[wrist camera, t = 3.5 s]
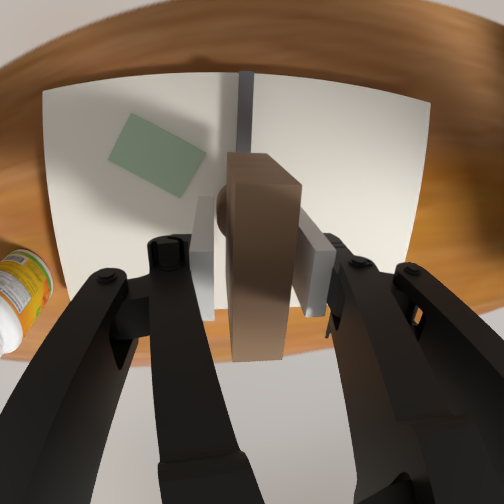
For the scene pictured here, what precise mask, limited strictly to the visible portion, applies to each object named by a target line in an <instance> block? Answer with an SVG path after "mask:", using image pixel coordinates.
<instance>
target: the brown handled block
mask: <svg viewBox="0 0 504 504" xmlns="http://www.w3.org/2000/svg"><path fill="white" fill-rule="evenodd" d="M253 93H254V71H239V85H238V110H237V137H236V152H227V182H226V185H225V186H224V187H223V188H222V189H221V190H220V192H219V194H218V196H217V200H216V218H217V225H218V228H219V230H220V232H221V233H222V234H223V235H224V236H225V237H226V258H225V277H226V290H227V303H228V316H229V328H230V340H231V352H232V362H249V361H268V360H282V357H283V350H284V343H285V336H286V329H287V321H288V314H289V306H290V298H291V290H292V281H293V273H294V264H295V255H296V246H297V236H298V227H299V216H300V206H301V195H302V184H301V183H300V182H298V181H297V180H296V179H295V178H294V177H293V176H292V175H291V174H290V173H289V172H287V171H286V170H285V169H284V168H283V167H282V166H281V165H280V164H278V163H277V162H276V161H275V160H274V159H273V158H272V157H271V156H269V155H268V154H267V153H251V138H252V115H253Z"/></svg>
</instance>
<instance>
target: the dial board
mask: <svg viewBox="0 0 504 504" xmlns="http://www.w3.org/2000/svg"><path fill="white" fill-rule="evenodd" d="M238 85H239V73H227V72H196V73H168V74H153V75H141V76H130V77H121V78H113V79H106V80H99V81H92V82H86V83H80V84H74V85H69V86H64V87H59V88H54V89H50V90H45V91H43V138H44V154H45V166H46V176H47V185H48V193H49V200H50V207H51V214H52V220H53V226H54V231H55V237H56V242H57V247H58V252H59V256H60V261H61V265H62V270H63V274H64V278H65V282H66V286H67V289H68V293H69V297H70V301H71V300H72V299H73V298H74V296H75V295H76V294H77V292H78V291H79V289H80V288H81V287H82V285H83V284H84V283H85V281H86V280H87V279H88V277H89V276H90V275H91V274H93V273H94V272H96V271H98V270H100V269H104V268H119V269H121V270H123V271H125V273H126V274H127V279H132V278H137V277H141V276H144V275H147V274H149V261H148V251H147V243H148V242H149V241H150V240H151V239H153V238H156V237H159V236H165V235H172V234H192V231H193V225H194V219H195V214H196V208H197V203H198V197H199V196H214V309H228V303H227V290H226V277H225V258H226V237H225V236H224V235H223V234H222V233H221V232H220V230H219V228H218V225H217V218H216V200H217V196H218V194H219V192H220V190H221V189H222V188H223V187H224V186H225V185H226V182H227V152H236V137H237V110H238ZM430 106H431V103H429V102H425V101H422V100H418V99H414V98H411V97H407V96H403V95H399V94H395V93H390V92H386V91H381V90H377V89H372V88H367V87H362V86H356V85H351V84H345V83H339V82H333V81H326V80H319V79H311V78H302V77H293V76H283V75H270V74H254V93H253V115H252V138H251V153H267V154H268V155H269V156H271V157H272V158H273V159H274V160H275V161H276V162H277V163H278V164H280V165H281V166H282V167H283V168H284V169H285V170H286V171H287V172H289V173H290V174H291V175H292V176H293V177H294V178H295V179H296V180H297V181H298V182H300V183H301V184H302V195H301V207H302V208H303V210H304V211H305V212H306V213H307V214H308V216H309V217H310V218H311V219H312V221H313V222H314V223H315V224H316V225H317V227H318V228H319V229H320V230H321V232H322V233H331V234H333V235H335V236H337V237H339V238H340V240H341V241H342V242H343V244H345V245H346V246H347V248H348V249H349V250H350V251H351V252H352V253H353V255H356V256H362V257H365V258H368V259H370V260H371V261H373V262H374V263H375V264H376V266H377V268H378V270H379V271H380V272H385V273H392V274H394V272H395V268H396V265H397V264H399V263H403V262H405V258H406V254H407V250H408V246H409V242H410V237H411V233H412V228H413V224H414V219H415V214H416V209H417V204H418V199H419V193H420V187H421V182H422V175H423V169H424V162H425V155H426V147H427V138H428V129H429V119H430ZM327 305H328V304H327ZM289 307H300V303H299V301H298V298H297V296H296V294H295V291H294V289H293V286H292V290H291V298H290V306H289Z"/></svg>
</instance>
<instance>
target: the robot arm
mask: <svg viewBox="0 0 504 504" xmlns="http://www.w3.org/2000/svg"><path fill="white" fill-rule="evenodd" d="M147 251H148V261H149V274H147V275H144V276H141V277H137V278H132V279H127V274H126V273H125V271H123V270H121V269H119V268H104V269H100V270H98V271H96V272H94V273H93V274H91V275H90V276H89V277H88V279H87V280H86V281H85V283H84V284H83V285H82V287H81V288H80V289H79V291H78V292H77V294H76V295H75V296H74V298H73V299H72V300H71V302H70V303H69V305H68V306H67V307H66V309H65V310H64V312H63V313H62V315H61V316H60V317H59V319H58V320H57V322H56V323H55V325H54V326H53V328H52V329H51V331H50V332H49V334H48V335H47V337H46V338H45V340H44V341H43V343H42V344H41V346H40V347H39V349H38V351H37V352H36V354H35V355H34V357H33V358H32V360H31V362H30V363H29V365H28V367H27V368H26V370H25V372H24V373H23V375H22V377H21V379H20V380H19V382H18V383H17V385H16V387H15V389H14V390H13V392H12V394H11V396H10V397H9V399H8V401H7V403H6V405H5V407H4V408H3V411H2V412H1V414H0V504H90V502H91V497H92V493H93V489H94V485H95V481H96V477H97V473H98V469H99V466H100V462H101V458H102V454H103V451H104V447H105V444H106V441H107V437H108V433H109V430H110V427H111V423H112V420H113V417H114V414H115V410H116V407H117V404H118V401H119V398H120V395H121V391H122V388H123V385H124V382H125V379H126V377H127V374H128V371H129V368H130V365H131V362H132V359H133V356H134V353H135V350H136V348H137V345H138V339H139V337H144V336H149V335H150V351H151V370H152V385H153V398H154V408H155V420H156V429H157V438H158V446H159V454H160V462H159V463H158V479H159V486H160V492H161V499H162V504H265V503H264V500H263V498H262V495H261V492H260V490H259V487H258V484H257V482H256V479H255V476H254V473H253V470H252V468H251V465H250V463H249V460H248V458H247V456H246V454H245V453H244V452H242V451H241V450H240V448H239V446H238V443H237V441H236V438H235V434H234V431H233V428H232V425H231V421H230V418H229V415H228V411H227V408H226V405H225V401H224V398H223V395H222V391H221V388H220V384H219V381H218V378H217V374H216V370H215V366H214V363H213V359H212V355H211V352H210V348H209V344H208V340H207V337H206V333H205V329H204V325H203V321H214V196H199V197H198V203H197V208H196V214H195V219H194V225H193V231H192V234H172V235H165V236H159V237H156V238H153V239H151V240H150V241H149V242H148V243H147ZM292 286H293V289H294V291H295V294H296V296H297V298H298V301H299V303H300V306H301V308H302V311H303V313H304V315H305V317H320V316H325V311H326V306H327V304H328V306H329V307H330V309H331V313H330V317H329V322H328V326H327V331H326V336H325V338H328V337H329V334H330V333H331V334H332V339H333V343H334V348H335V353H336V358H337V362H338V368H339V373H340V378H341V383H342V388H343V393H344V398H345V403H346V410H347V415H348V421H349V427H350V433H351V439H352V445H353V452H354V458H355V465H356V472H357V485H356V489H355V493H354V504H504V340H503V339H502V338H501V337H500V336H499V335H498V334H497V333H496V332H495V331H494V330H493V329H492V328H491V327H490V326H489V325H487V324H486V323H485V322H484V321H483V320H482V319H481V318H480V317H479V316H478V315H477V314H476V313H475V312H474V311H473V310H471V309H470V308H469V307H468V306H467V305H466V304H465V303H464V302H463V301H461V300H460V299H459V298H458V297H457V296H456V295H455V294H454V293H452V292H451V291H450V290H449V289H448V288H447V287H446V286H444V285H443V284H442V283H441V282H440V281H439V280H437V279H436V278H435V277H434V276H433V275H431V274H430V273H429V272H428V271H427V270H425V269H424V268H422V267H421V266H418V265H417V264H415V263H411V262H408V263H405V262H403V263H399V264H397V265H396V268H395V272H394V274H392V273H385V272H380V271H379V270H378V268H377V266H376V264H375V263H374V262H373V261H371V260H370V259H368V258H365V257H362V256H356V255H353V253H352V252H351V251H350V250H349V249H348V248H347V246H346V245H345V244H343V242H342V241H341V240H340V238H339V237H337V236H335V235H333V234H331V233H322V232H321V230H320V229H319V228H318V227H317V225H316V224H315V223H314V222H313V221H312V219H311V218H310V217H309V216H308V214H307V213H306V212H305V211H304V210H303V208H302V207H301V206H300V216H299V227H298V236H297V246H296V255H295V264H294V273H293V281H292ZM418 307H419V308H420V309H421V310H422V312H423V314H422V317H421V320H420V322H419V324H417V323H416V322H415V321H414V319H415V316H416V313H417V310H418Z"/></svg>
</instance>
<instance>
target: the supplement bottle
mask: <svg viewBox="0 0 504 504" xmlns="http://www.w3.org/2000/svg"><path fill="white" fill-rule="evenodd" d="M52 291H53V280H52V276H51V273H50V271H49V269H48V267H47V266H46V264H45V263H44V262H43V260H42V259H41V258H39V257H38V256H37V255H36V254H34V253H32V252H30V251H28V250H23V249H19V250H15V251H13V252H11V253H10V254H9V255H7V256H6V257H5V258H4V259H3V260H2V261H1V262H0V358H1V356H2V354H3V353H10V352H12V351H14V350H15V349H17V347H18V346H19V345H20V343H21V342H22V340H23V338H24V337H25V335H26V334H27V332H28V330H29V329H30V327H31V326H32V324H33V323H34V321H35V320H36V318H37V317H38V315H39V314H40V312H41V311H42V309H43V308H44V306H45V305H46V303H47V302H48V300H49V299H50V297H51V295H52Z"/></svg>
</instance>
